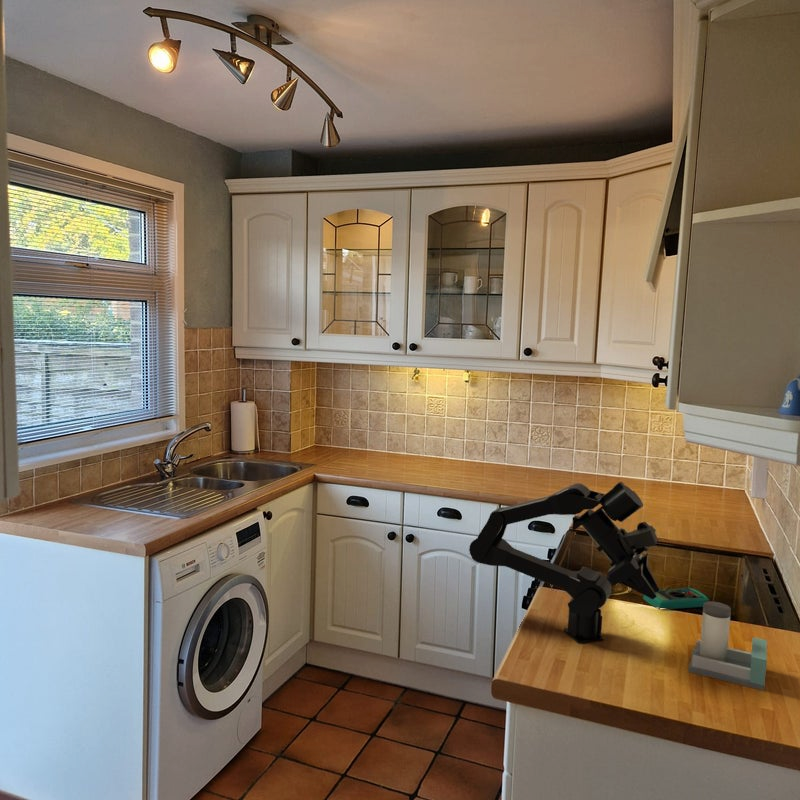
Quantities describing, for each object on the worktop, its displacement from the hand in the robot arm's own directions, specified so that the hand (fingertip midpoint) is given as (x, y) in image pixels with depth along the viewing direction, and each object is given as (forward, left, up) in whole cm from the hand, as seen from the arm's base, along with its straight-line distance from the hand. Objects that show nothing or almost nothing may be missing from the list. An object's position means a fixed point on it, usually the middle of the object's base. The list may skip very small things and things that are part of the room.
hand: (656, 594), depth 141 cm
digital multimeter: (+24, +22, -13) cm, 35 cm away
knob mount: (+10, -10, -13) cm, 19 cm away
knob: (+8, -8, -11) cm, 16 cm away
